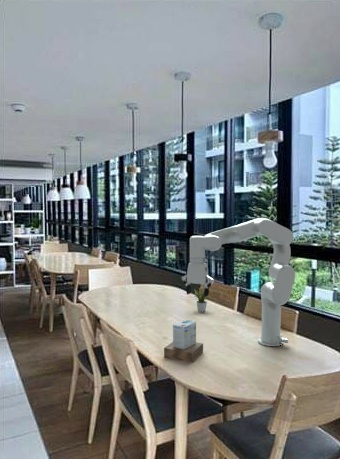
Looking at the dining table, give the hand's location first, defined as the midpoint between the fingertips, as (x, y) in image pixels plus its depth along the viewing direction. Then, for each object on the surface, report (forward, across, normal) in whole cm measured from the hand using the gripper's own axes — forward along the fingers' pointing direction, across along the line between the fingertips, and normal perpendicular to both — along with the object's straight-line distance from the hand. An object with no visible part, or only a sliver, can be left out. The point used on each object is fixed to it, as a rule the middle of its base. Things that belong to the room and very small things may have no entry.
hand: (197, 294), depth 191 cm
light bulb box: (+22, +1, +12) cm, 25 cm away
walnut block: (+27, +1, +13) cm, 30 cm away
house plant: (+27, +27, -65) cm, 76 cm away
